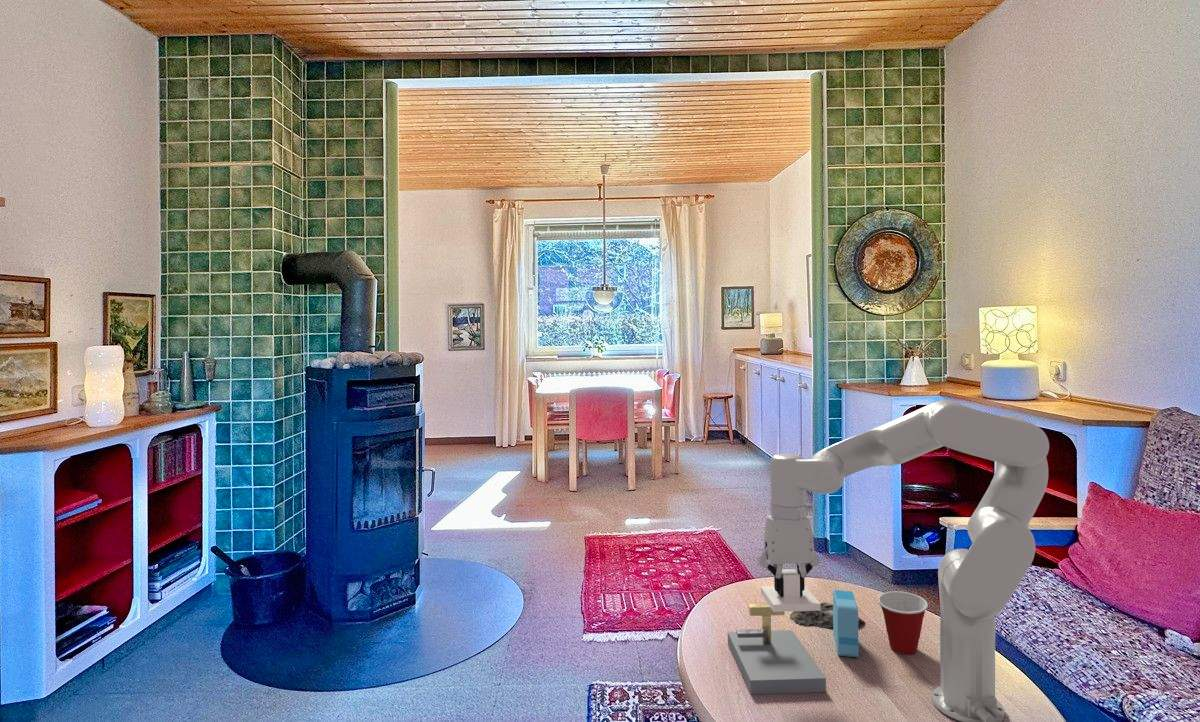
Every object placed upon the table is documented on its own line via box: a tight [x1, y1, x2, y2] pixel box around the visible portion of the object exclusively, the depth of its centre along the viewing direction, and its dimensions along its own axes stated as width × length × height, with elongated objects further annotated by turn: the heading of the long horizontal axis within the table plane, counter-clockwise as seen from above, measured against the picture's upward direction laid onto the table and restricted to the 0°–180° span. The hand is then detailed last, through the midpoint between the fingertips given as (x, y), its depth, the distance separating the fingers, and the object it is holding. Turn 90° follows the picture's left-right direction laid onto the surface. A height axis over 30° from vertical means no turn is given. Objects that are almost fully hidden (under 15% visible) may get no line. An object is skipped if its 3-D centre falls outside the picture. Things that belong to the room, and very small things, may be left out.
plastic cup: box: [877, 590, 929, 656], centre depth 149 cm, size 11×11×12 cm
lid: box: [760, 568, 821, 612], centre depth 137 cm, size 10×10×6 cm
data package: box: [832, 589, 860, 658], centre depth 151 cm, size 12×4×12 cm, turn 165°
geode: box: [789, 601, 866, 630], centre depth 168 cm, size 19×4×15 cm
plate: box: [727, 629, 827, 695], centre depth 143 cm, size 22×16×3 cm
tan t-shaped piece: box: [735, 603, 786, 644], centre depth 148 cm, size 11×2×9 cm, turn 89°
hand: (789, 593), depth 137 cm, fingers closed on lid, 3 cm apart
